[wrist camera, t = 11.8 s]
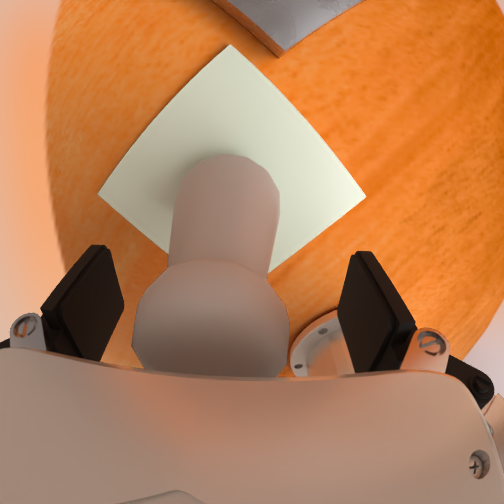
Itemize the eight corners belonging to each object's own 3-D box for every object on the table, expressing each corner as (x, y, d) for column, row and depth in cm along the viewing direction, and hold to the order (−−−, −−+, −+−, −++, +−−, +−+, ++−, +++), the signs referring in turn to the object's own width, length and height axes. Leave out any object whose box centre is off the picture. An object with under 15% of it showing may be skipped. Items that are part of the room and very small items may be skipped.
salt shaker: (254, 243, 19) (264, 431, 8) (174, 216, 18) (99, 392, 7) (291, 166, 17) (373, 326, 6) (201, 133, 15) (96, 243, 4)
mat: (362, 192, 18) (366, 196, 18) (229, 295, 23) (229, 302, 22) (231, 46, 13) (230, 44, 13) (102, 190, 18) (97, 194, 17)
